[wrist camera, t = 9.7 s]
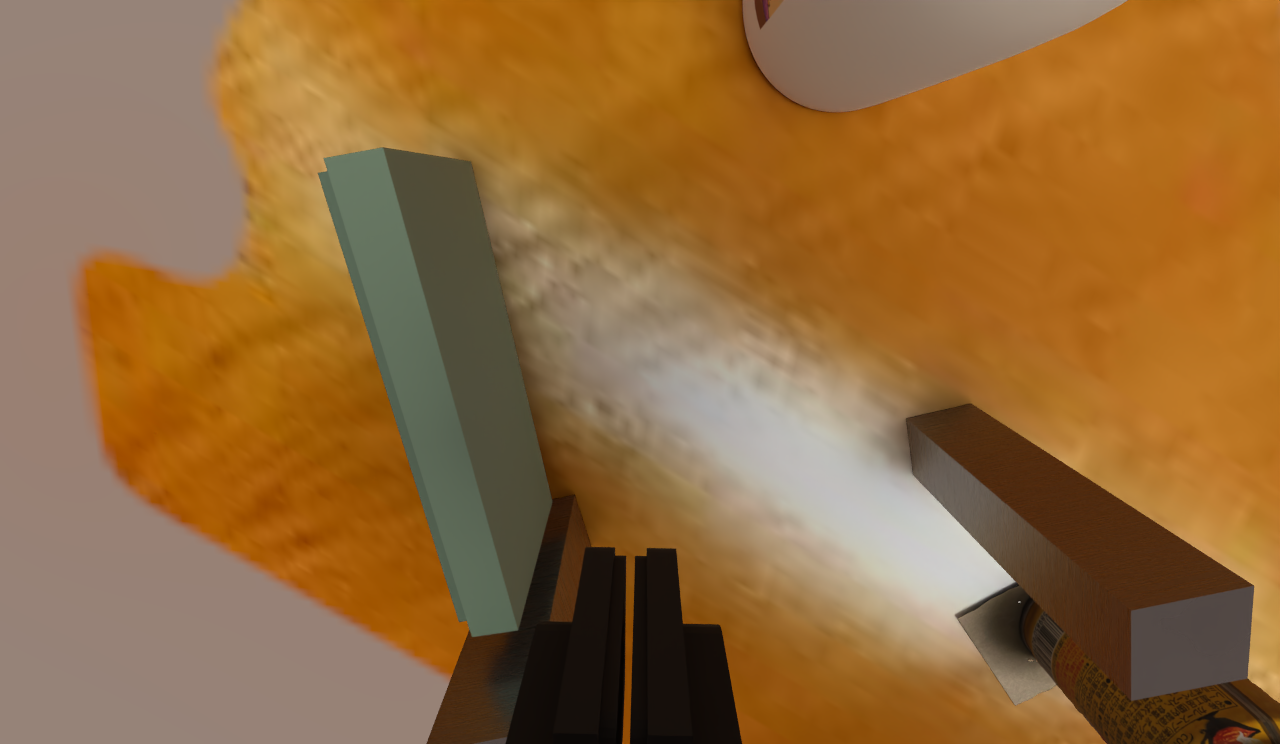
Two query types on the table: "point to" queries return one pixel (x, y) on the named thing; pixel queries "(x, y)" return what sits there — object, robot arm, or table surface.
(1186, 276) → the table surface
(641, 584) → the robot arm
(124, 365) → the table surface
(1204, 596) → the gate posts
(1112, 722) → the condiment
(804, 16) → the milk bottle
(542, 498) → the gate
